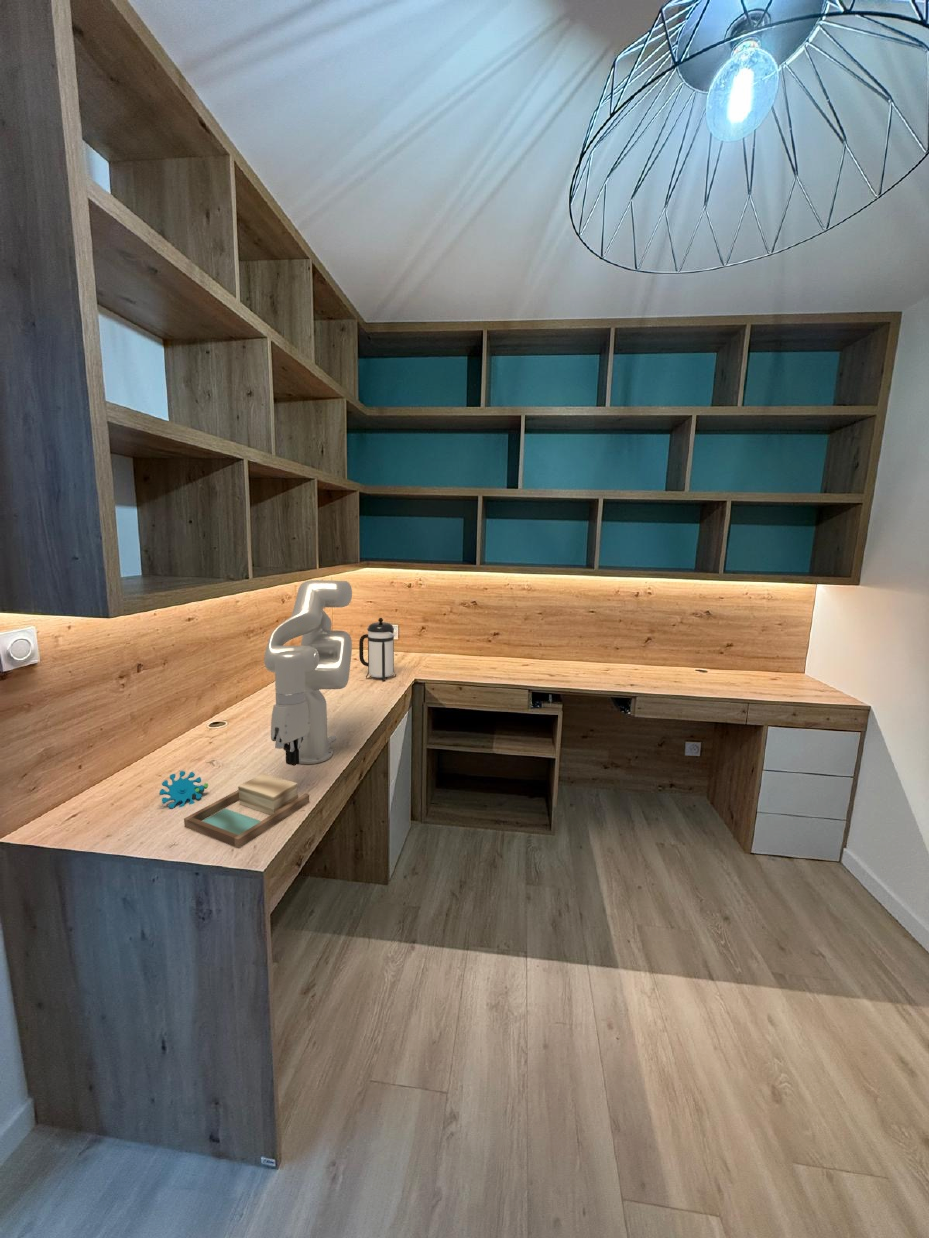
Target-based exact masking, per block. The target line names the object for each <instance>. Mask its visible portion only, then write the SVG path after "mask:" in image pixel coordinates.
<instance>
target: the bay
mask: <svg viewBox="0 0 929 1238" xmlns="http://www.w3.org/2000/svg"><path fill="white" fill-rule="evenodd" d="M238 801H239V790H238V789H237V790H235V791H233V792H232V793H230V794H228V795H226V796H224V797H222V798H220V799H218V800H216V801H214V802H212V803H209V805H207V806H205V807H203V808H200V809H199V810H197V811H196V812H193V813H192V814H190V815H188V816H186V817H184V818H183V823H184V824H183V825H184V828H187V829H189V830H192V831H194V832H196V833H199V834H201V835H204V836H207V837H209V838H211V839H214V840H217V841H219V842H221V843H225V844H227V845H228V846H231V847H235V848H237V849H240V848H242V847H243V846H245V845H246V844H248V843H249V842H251V841H253V840H254V839H255V838H257V837H259V836H261V834H263V833H265V832H266V831H268V830H269V829H271V828H273V827H274V826H275V825H277V824H279V823H280V822H282V821H283V820H284V819H286V818H288V817H290V815H292V814H294V813H296V812H297V811H298V810H300V809H301V808H304V806H306V805H308V804H309V803H310V794H308V793H305V794H302V795H301V796H298V799H296V800H294V801H293V802H291V803H290V804H288V805H286V806H285V807H283V808H282V809H280V810H278V811H277V812H275V813H274V814H272V815H269V816H267V817H266V818H264V819H262V820H260V819H256V818H253V817H250V816H247V815H245V814H242V813H240V812H236V811H234V810H231V809H229V808H228V807H229V806H231V805H233V804H234V803H235V804H236V802H238Z"/></svg>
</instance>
